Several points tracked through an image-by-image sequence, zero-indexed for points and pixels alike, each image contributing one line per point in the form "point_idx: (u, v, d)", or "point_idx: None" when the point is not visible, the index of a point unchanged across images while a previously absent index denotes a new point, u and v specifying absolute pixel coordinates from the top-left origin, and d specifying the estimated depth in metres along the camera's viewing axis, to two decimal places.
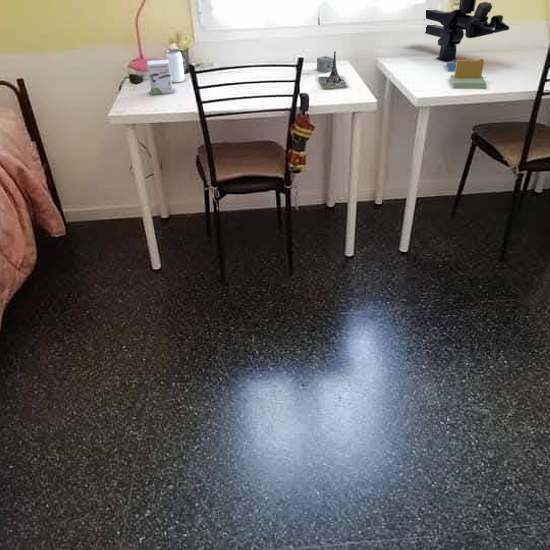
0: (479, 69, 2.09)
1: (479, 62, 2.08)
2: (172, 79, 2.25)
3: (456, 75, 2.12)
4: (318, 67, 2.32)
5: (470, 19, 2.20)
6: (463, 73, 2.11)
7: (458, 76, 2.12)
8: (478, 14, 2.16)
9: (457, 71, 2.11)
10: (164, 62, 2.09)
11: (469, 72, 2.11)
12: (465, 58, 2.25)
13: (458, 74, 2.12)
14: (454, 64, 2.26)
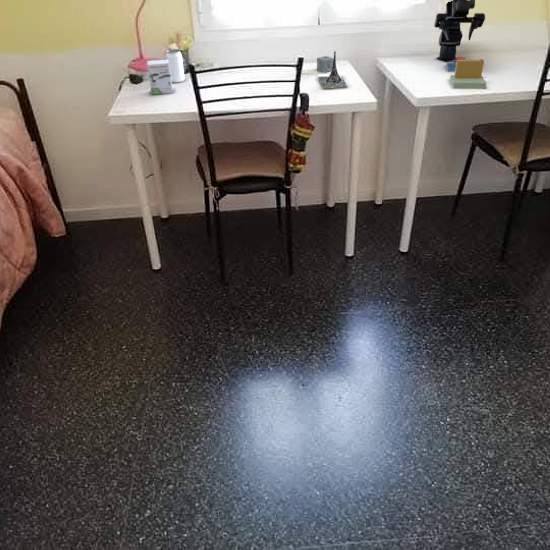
0: (479, 69, 2.09)
1: (479, 62, 2.08)
2: (172, 79, 2.25)
3: (456, 75, 2.12)
4: (318, 67, 2.32)
5: (454, 4, 2.14)
6: (463, 73, 2.11)
7: (458, 76, 2.12)
8: (455, 8, 2.11)
9: (457, 71, 2.11)
10: (164, 62, 2.09)
11: (469, 72, 2.11)
12: (465, 58, 2.25)
13: (458, 74, 2.12)
14: (454, 64, 2.26)
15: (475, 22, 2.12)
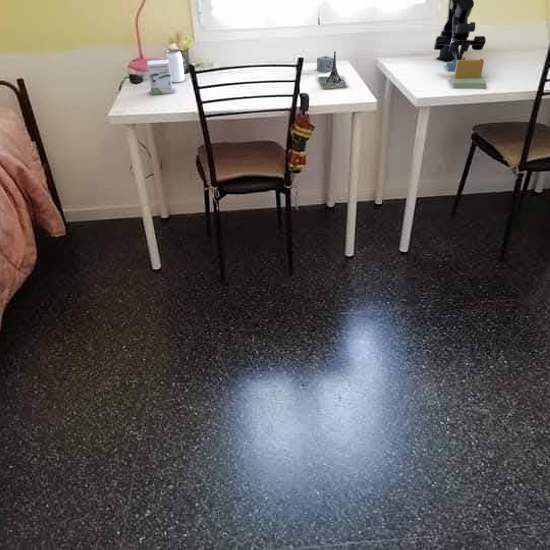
0: (479, 69, 2.10)
1: (479, 62, 2.08)
2: (172, 79, 2.25)
3: (456, 75, 2.12)
4: (318, 67, 2.32)
5: (454, 27, 2.11)
6: (464, 73, 2.11)
7: (458, 76, 2.12)
8: (455, 31, 2.08)
9: (457, 71, 2.11)
10: (164, 62, 2.09)
11: (469, 72, 2.11)
12: (465, 58, 2.25)
13: (458, 74, 2.11)
14: (454, 64, 2.26)
15: (465, 45, 2.09)
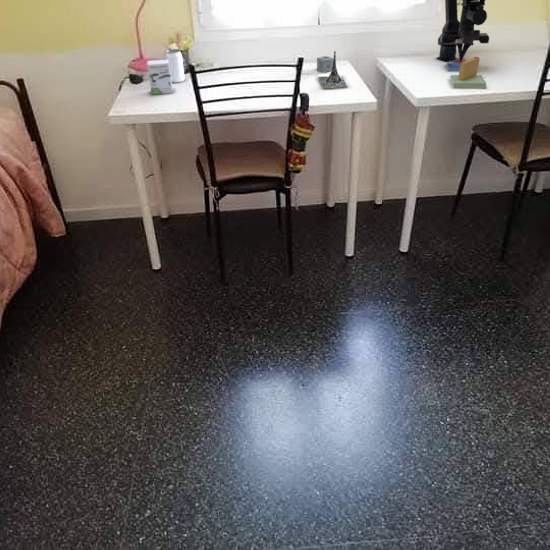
0: (476, 67, 2.12)
1: (477, 60, 2.10)
2: (172, 79, 2.25)
3: (463, 77, 2.09)
4: (318, 67, 2.32)
5: (461, 25, 2.17)
6: (467, 74, 2.10)
7: (464, 78, 2.10)
8: (460, 36, 2.17)
9: (464, 74, 2.08)
10: (164, 62, 2.09)
11: (470, 72, 2.11)
12: None
13: (464, 76, 2.09)
14: (454, 64, 2.26)
15: (468, 46, 2.21)
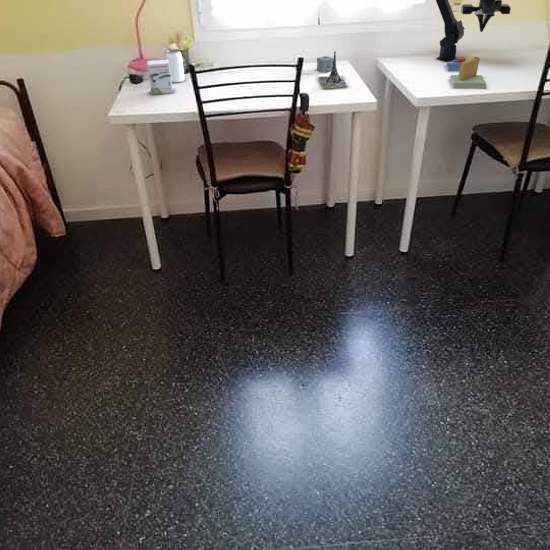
0: (476, 67, 2.12)
1: (477, 60, 2.10)
2: (172, 79, 2.25)
3: (463, 77, 2.09)
4: (318, 67, 2.32)
5: None
6: (467, 74, 2.10)
7: (464, 78, 2.10)
8: (482, 6, 2.17)
9: (464, 74, 2.08)
10: (164, 62, 2.09)
11: (470, 72, 2.11)
12: (465, 58, 2.25)
13: (464, 76, 2.09)
14: (454, 64, 2.26)
15: (489, 17, 2.20)
